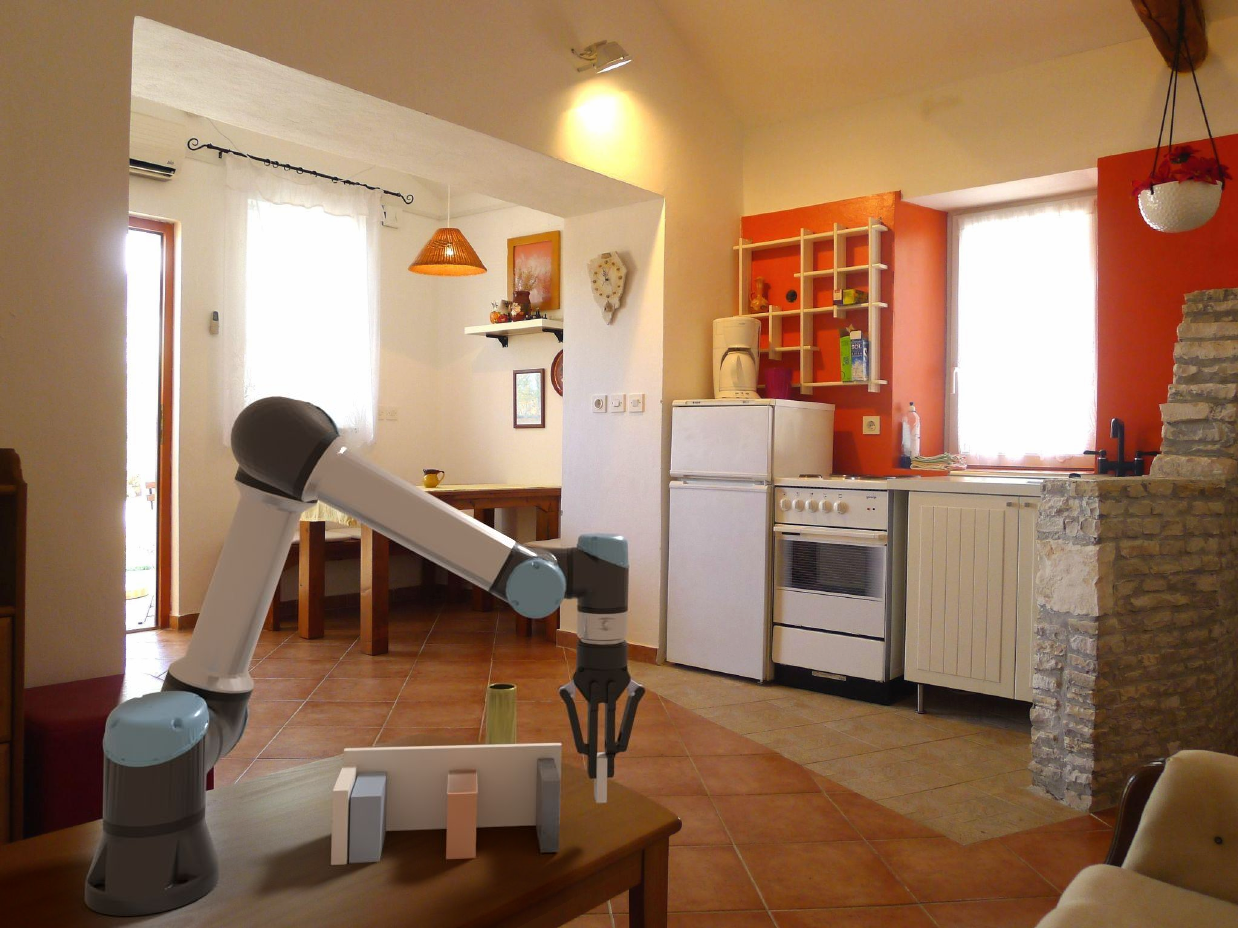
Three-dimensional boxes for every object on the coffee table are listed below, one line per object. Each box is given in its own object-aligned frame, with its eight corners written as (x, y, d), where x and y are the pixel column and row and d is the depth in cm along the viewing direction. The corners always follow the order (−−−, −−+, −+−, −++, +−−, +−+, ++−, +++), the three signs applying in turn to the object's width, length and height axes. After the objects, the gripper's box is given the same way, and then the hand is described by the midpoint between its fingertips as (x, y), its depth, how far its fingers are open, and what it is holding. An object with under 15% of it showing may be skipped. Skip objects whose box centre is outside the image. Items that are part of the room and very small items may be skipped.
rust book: (445, 859, 128) (447, 793, 128) (447, 830, 138) (448, 769, 138) (475, 857, 129) (477, 792, 129) (475, 829, 138) (476, 769, 138)
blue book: (349, 862, 126) (350, 796, 126) (357, 833, 136) (359, 772, 136) (379, 861, 127) (381, 795, 127) (385, 832, 136) (387, 771, 136)
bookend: (540, 852, 130) (542, 781, 130) (535, 824, 140) (537, 758, 140) (558, 851, 131) (560, 780, 131) (552, 823, 140) (553, 757, 140)
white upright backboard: (331, 864, 125) (333, 775, 125) (342, 829, 137) (344, 748, 137) (567, 854, 130) (569, 768, 130) (558, 820, 142) (560, 742, 142)
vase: (478, 769, 165) (480, 689, 165) (488, 758, 171) (490, 681, 171) (511, 771, 164) (513, 691, 164) (521, 761, 170) (522, 683, 170)
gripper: (560, 645, 132) (558, 811, 132) (650, 643, 134) (648, 806, 134) (555, 635, 139) (553, 792, 139) (641, 633, 141) (639, 788, 141)
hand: (600, 799), depth 137 cm, fingers closed
